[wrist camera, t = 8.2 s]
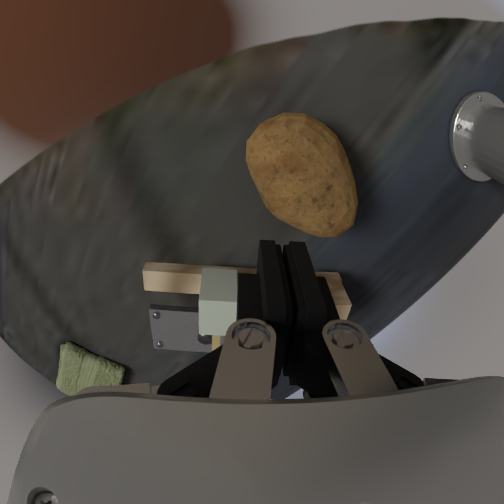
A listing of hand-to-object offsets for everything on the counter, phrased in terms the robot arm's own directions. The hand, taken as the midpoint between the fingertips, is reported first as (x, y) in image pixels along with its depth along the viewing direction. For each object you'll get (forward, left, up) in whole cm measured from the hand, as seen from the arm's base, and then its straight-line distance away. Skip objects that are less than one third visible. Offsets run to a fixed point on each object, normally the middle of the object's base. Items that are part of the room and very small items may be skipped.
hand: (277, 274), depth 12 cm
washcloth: (+26, +42, -24) cm, 55 cm away
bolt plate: (-1, +26, -24) cm, 35 cm away
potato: (-6, +2, -24) cm, 24 cm away
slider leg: (+2, +20, -21) cm, 30 cm away
